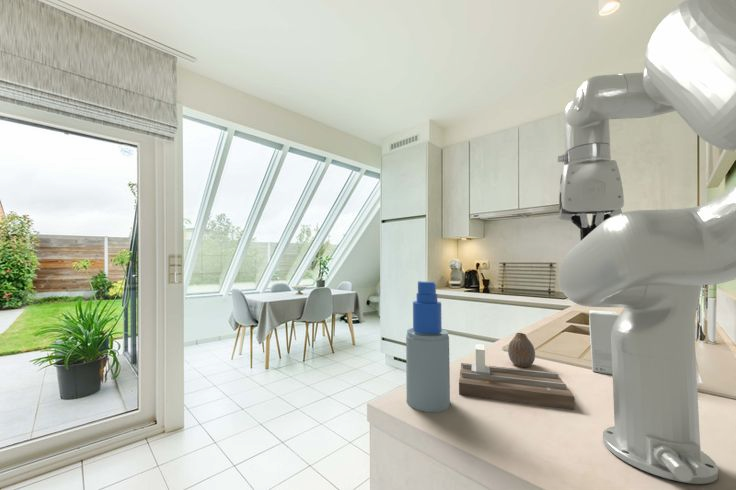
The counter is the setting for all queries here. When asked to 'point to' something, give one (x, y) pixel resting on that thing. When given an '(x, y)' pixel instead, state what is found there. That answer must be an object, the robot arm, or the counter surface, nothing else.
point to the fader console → (516, 386)
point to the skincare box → (601, 340)
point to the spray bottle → (427, 354)
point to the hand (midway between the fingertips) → (590, 247)
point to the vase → (521, 351)
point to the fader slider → (480, 361)
